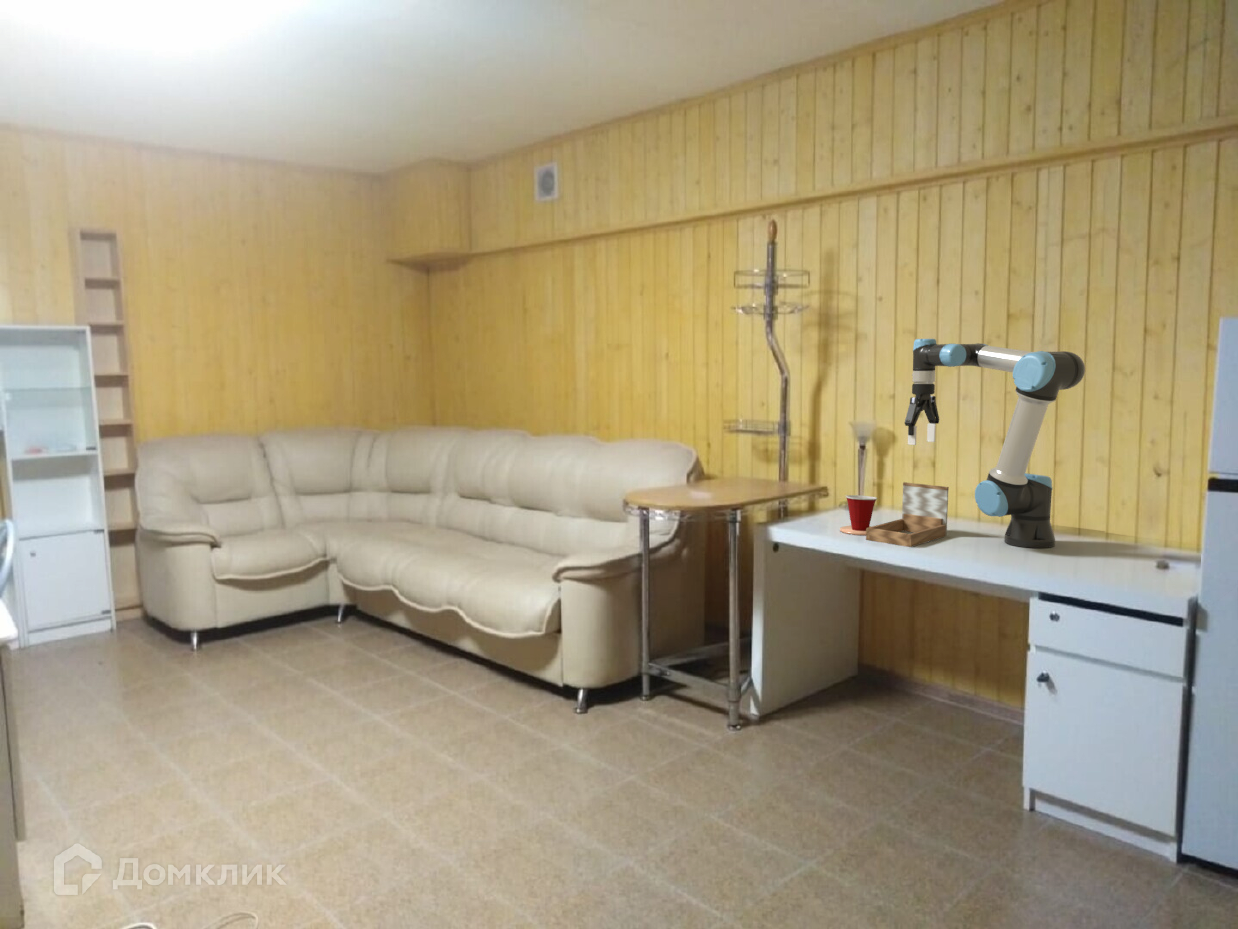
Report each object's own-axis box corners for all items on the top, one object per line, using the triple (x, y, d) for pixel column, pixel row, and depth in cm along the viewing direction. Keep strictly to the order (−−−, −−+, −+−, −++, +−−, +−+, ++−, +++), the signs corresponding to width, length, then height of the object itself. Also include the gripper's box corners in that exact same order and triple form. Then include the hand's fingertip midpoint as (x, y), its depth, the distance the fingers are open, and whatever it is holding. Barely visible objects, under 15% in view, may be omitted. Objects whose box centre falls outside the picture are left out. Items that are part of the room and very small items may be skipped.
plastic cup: (882, 529, 312) (883, 495, 310) (866, 533, 304) (867, 499, 303) (854, 525, 320) (855, 492, 318) (838, 529, 312) (839, 496, 311)
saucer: (888, 531, 312) (888, 529, 312) (867, 537, 302) (867, 535, 302) (854, 526, 322) (854, 523, 322) (832, 531, 313) (832, 529, 312)
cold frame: (946, 535, 303) (948, 487, 301) (910, 547, 287) (912, 495, 284) (903, 529, 315) (904, 482, 313) (866, 539, 299) (867, 490, 296)
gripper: (930, 381, 321) (929, 439, 324) (895, 383, 304) (893, 445, 307) (950, 382, 315) (948, 441, 318) (915, 384, 299) (913, 446, 301)
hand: (921, 443), depth 312 cm, fingers open, 13 cm apart
